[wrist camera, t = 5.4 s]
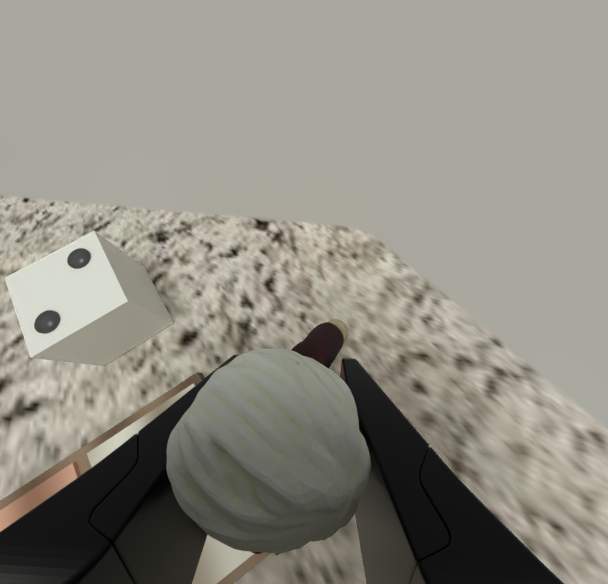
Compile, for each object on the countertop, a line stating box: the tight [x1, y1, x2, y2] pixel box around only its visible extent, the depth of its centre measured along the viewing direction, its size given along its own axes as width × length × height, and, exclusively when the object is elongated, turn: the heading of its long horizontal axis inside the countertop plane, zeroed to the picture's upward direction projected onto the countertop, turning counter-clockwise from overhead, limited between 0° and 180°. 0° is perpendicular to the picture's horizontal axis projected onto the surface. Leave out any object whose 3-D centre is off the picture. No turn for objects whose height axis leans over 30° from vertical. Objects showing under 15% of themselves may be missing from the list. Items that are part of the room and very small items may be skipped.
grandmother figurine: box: [166, 319, 371, 555], centre depth 10 cm, size 8×4×13 cm, turn 169°
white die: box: [5, 231, 174, 366], centre depth 20 cm, size 6×6×6 cm
